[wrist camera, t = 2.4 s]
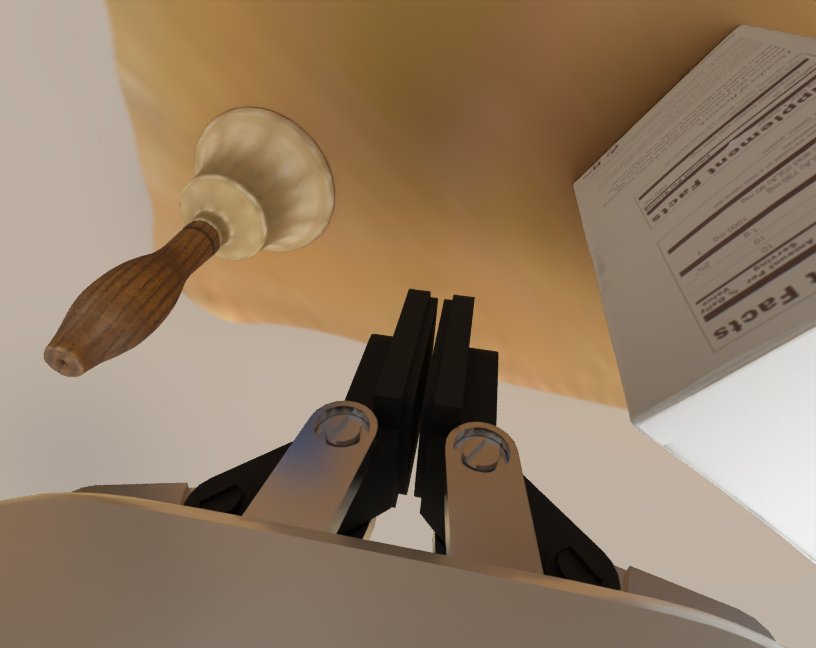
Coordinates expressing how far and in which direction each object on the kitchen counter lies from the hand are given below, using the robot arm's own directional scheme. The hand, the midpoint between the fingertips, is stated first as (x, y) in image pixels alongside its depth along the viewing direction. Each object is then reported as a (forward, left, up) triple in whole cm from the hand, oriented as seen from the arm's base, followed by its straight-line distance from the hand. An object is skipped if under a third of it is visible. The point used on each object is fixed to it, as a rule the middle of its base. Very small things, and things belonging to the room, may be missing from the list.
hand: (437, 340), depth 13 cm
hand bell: (+3, -12, -16) cm, 20 cm away
